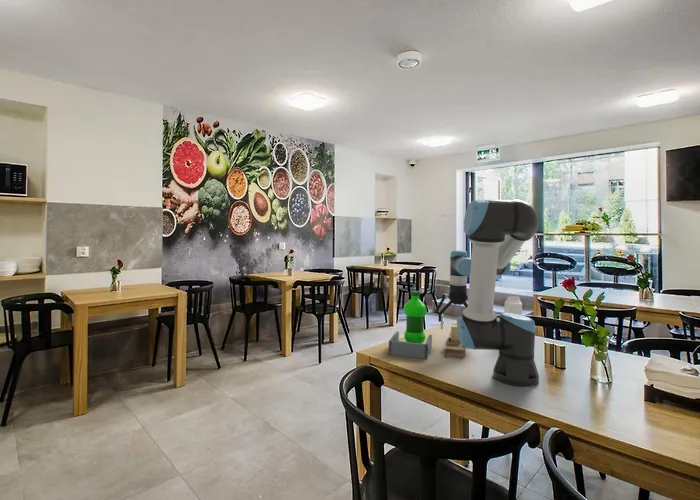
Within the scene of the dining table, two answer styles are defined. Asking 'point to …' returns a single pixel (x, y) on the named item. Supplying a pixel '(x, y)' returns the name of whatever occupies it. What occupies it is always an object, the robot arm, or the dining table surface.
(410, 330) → the plastic bottle
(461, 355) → the scraper
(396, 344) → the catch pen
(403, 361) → the dining table surface
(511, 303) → the milk
